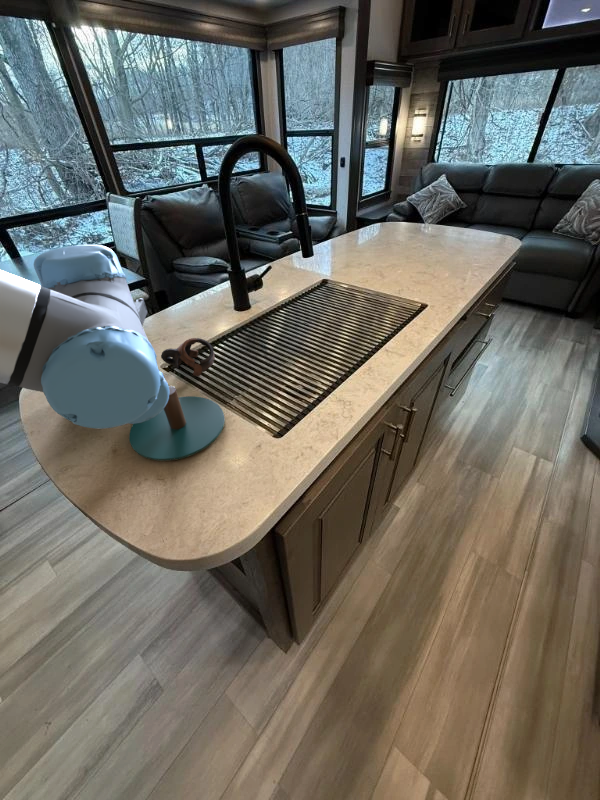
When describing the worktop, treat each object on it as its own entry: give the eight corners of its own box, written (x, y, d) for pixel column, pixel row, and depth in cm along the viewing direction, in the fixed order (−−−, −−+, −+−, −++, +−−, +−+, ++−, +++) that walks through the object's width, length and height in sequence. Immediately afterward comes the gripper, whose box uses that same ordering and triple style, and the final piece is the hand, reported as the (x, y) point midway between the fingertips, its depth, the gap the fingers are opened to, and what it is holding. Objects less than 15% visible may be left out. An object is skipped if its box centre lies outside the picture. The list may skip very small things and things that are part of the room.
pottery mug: (207, 353, 87) (213, 333, 81) (214, 384, 84) (220, 366, 77) (158, 354, 82) (160, 332, 75) (163, 387, 78) (165, 367, 71)
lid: (133, 476, 55) (113, 437, 50) (129, 414, 68) (112, 377, 62) (235, 444, 61) (228, 405, 55) (214, 391, 73) (206, 356, 68)
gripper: (18, 405, 45) (6, 346, 58) (192, 346, 57) (149, 308, 70) (-15, 357, 40) (-21, 304, 53) (181, 304, 52) (138, 271, 65)
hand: (76, 306), depth 61 cm, fingers open, 13 cm apart
